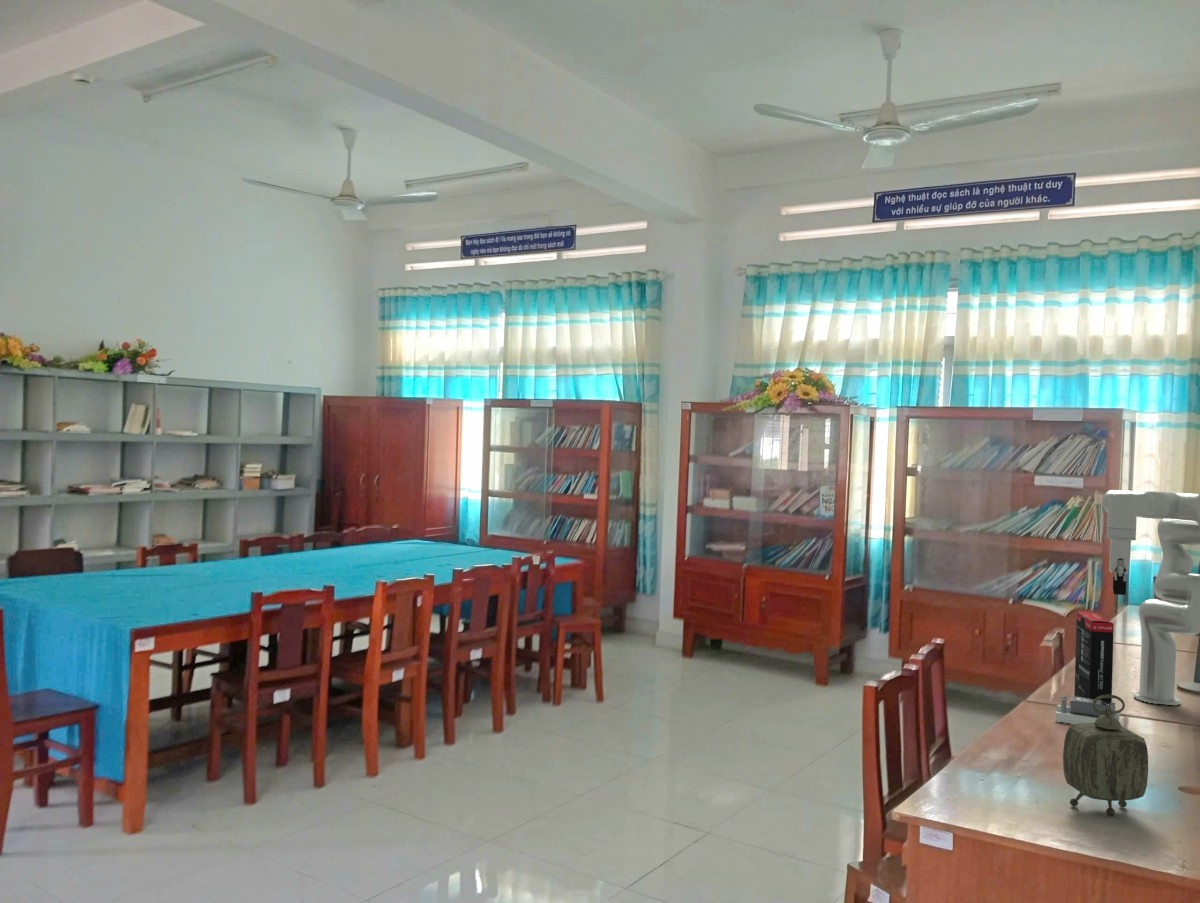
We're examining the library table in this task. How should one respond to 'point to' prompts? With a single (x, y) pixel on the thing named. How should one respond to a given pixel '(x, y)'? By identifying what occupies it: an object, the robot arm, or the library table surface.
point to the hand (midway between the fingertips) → (1119, 592)
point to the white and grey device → (1066, 717)
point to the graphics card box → (1093, 656)
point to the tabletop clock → (1105, 759)
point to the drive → (1086, 707)
